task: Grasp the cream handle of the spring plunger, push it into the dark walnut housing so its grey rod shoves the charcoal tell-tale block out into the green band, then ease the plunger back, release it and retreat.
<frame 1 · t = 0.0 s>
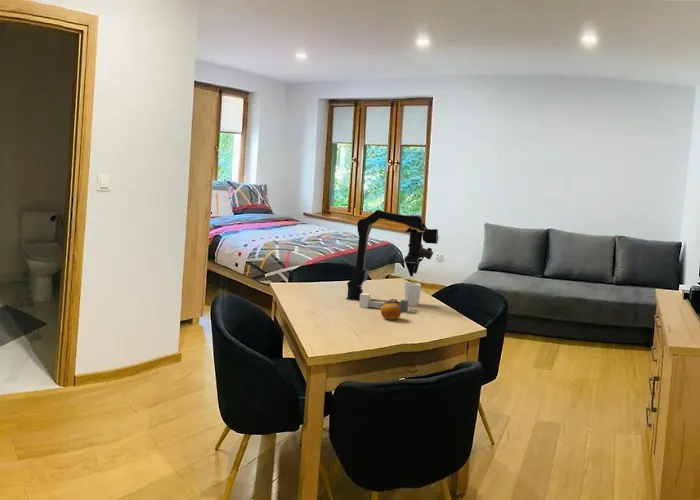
hand: (413, 274, 293), 15 cm above the table, fingers open, 9 cm apart
fruit: (390, 319, 266), on the table
plunger: (379, 301, 285), point 3 cm above the table, slide at 0.0 cm
white cup: (411, 304, 297), on the table
housing: (391, 309, 283), on the table
telltale: (403, 311, 282), on the table
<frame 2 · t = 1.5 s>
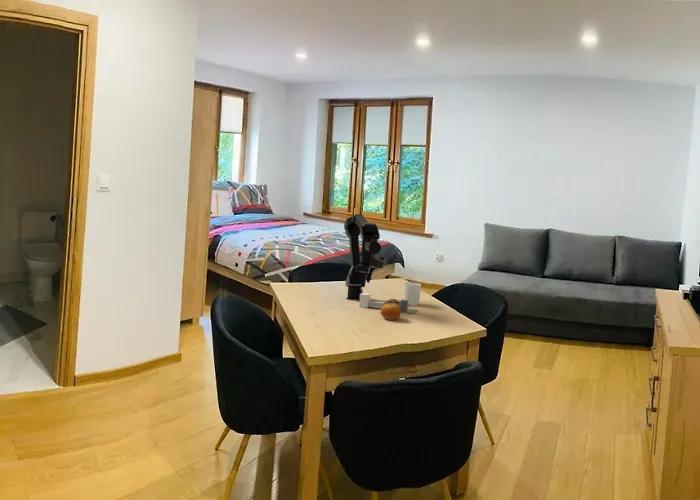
hand: (365, 284, 286), 11 cm above the table, fingers open, 9 cm apart
nothing on the table moved.
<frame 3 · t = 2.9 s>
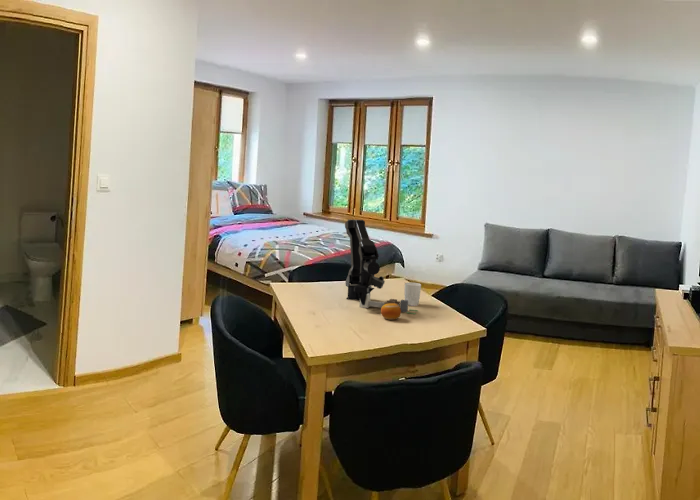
hand: (364, 304, 287), 1 cm above the table, fingers closed on plunger, 4 cm apart
plunger: (379, 301, 285), point 3 cm above the table, slide at 0.0 cm, touching gripper
everything else where it was.
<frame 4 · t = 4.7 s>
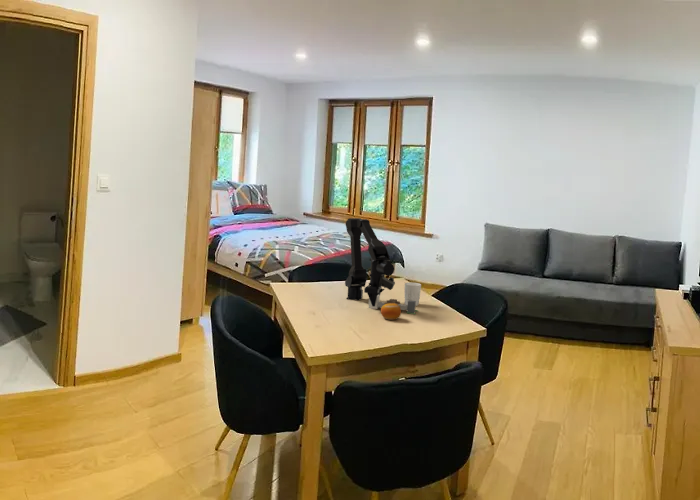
hand: (374, 305, 285), 1 cm above the table, fingers closed on plunger, 4 cm apart
plunger: (388, 303, 283), point 3 cm above the table, slide at 4.4 cm, touching gripper
telltale: (411, 312, 281), on the table
everything else where it was.
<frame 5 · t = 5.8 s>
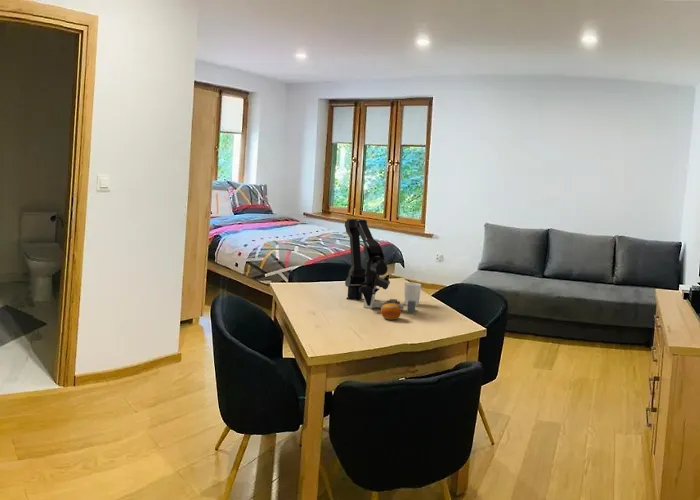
hand: (369, 304, 286), 1 cm above the table, fingers closed on plunger, 4 cm apart
plunger: (384, 302, 284), point 3 cm above the table, slide at 2.1 cm, touching gripper
everything else where it was.
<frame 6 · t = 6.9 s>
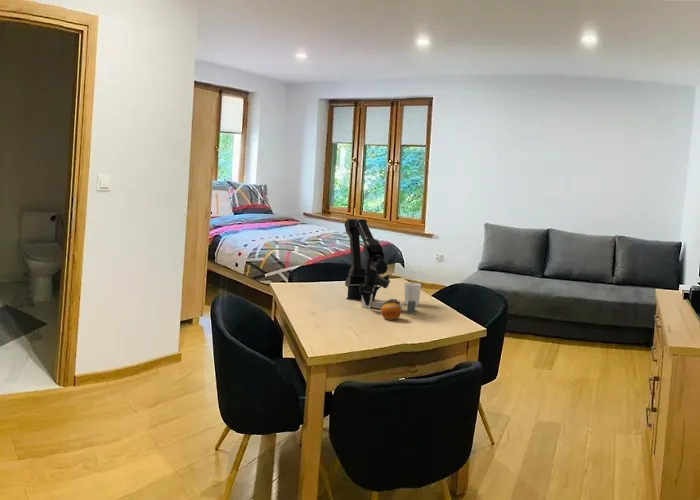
hand: (370, 303, 286), 2 cm above the table, fingers open, 9 cm apart
plunger: (381, 302, 284), point 3 cm above the table, slide at 1.0 cm
everything else where it was.
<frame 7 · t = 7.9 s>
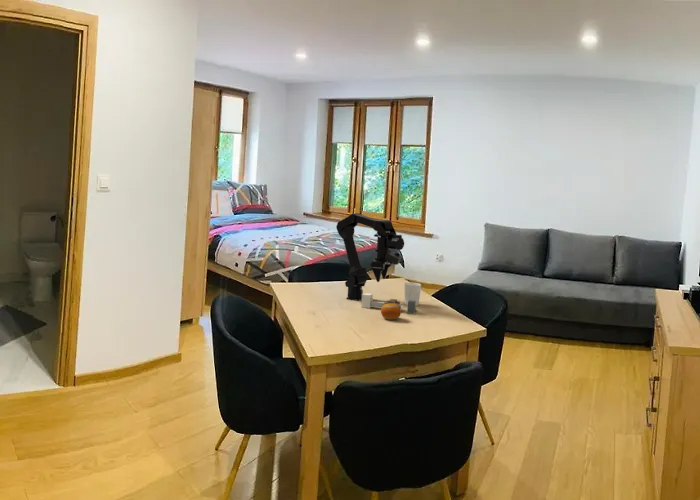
hand: (381, 280, 290), 12 cm above the table, fingers open, 9 cm apart
nothing on the table moved.
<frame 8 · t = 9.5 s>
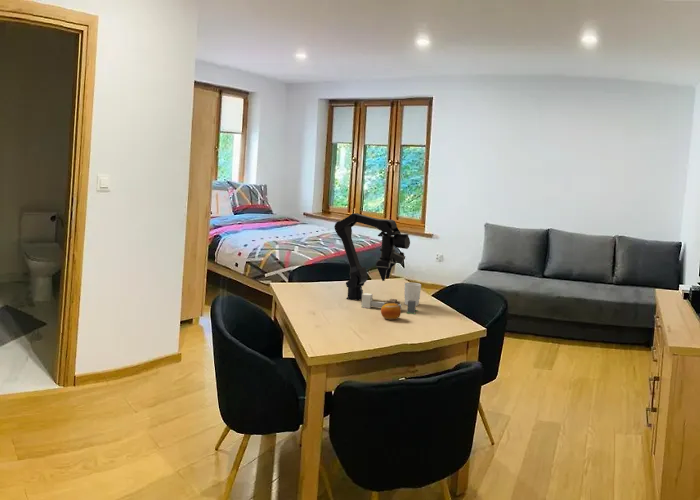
hand: (385, 279, 293), 12 cm above the table, fingers open, 9 cm apart
nothing on the table moved.
at the end: telltale 0.9 cm from the target spot, on the table; plunger slide at 1.0 cm; the gripper is holding nothing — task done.
